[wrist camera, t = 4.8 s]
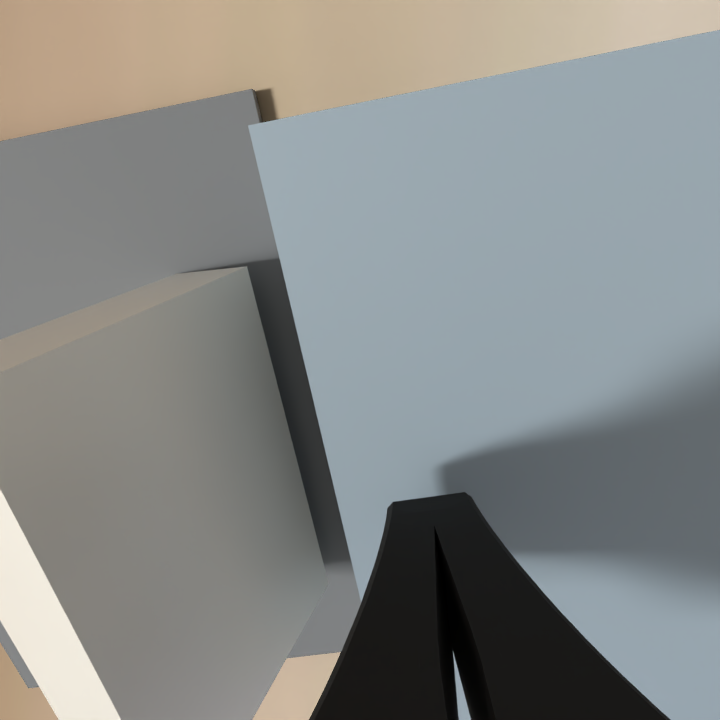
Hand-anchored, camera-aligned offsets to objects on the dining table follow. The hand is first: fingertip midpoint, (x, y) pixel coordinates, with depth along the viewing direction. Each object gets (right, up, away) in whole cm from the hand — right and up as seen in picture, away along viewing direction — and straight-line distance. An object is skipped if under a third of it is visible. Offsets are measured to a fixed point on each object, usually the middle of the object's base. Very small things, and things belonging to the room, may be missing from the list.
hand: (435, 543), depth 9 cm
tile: (-4, 0, +1) cm, 4 cm away
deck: (+4, +2, +4) cm, 6 cm away
